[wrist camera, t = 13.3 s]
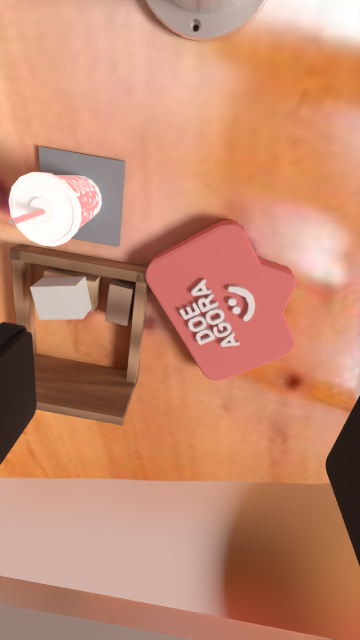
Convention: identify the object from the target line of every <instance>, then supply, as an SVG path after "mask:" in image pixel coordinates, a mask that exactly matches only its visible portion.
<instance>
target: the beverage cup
mask: <svg viewBox="0 0 360 640" xmlns="http://www.w3.org/2000/svg"><path fill="white" fill-rule="evenodd" d="M101 204H102V202H101V194H100V191H99V189H98V187H97V185H96V184H95V183H94V182H93V181H92V180H91V179H89V178H87V177H85V176H79V175H53V174H52V173H44V172H31V173H29V174H26V175H24V176H21V177H19V179H18V180H17V181H16V182H15V184H14V185H13V186H12V188H11V192H10V196H9V207H10V213H11V216H12V218H11V219H9V221H8V222H9V224H10V225H16V226H17V228H18V229H19V230H20V231H21V232H22V233H23V234H24V235H25V236H26V237H27V238H28V239H30V240H32V241H34V242H36V243H38V244H40V245H45V246H57V245H60V244H63V243H66V242H67V241H68V240H70V239H71V238H72V237H73V236H74V235H75V234H76V233H77V231H78V229H79V228H80V227H82V226H83V225H84V224H85V223H87V222H88V221H89V220H90V219H92V218H93V217H94V216H95V215H96V214H97V213H98V212H99V210H100V207H101Z"/></svg>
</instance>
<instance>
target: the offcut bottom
mask: <svg viewBox="0 0 360 640" xmlns="http://www.w3.org/2000/svg"><path fill="white" fill-rule="evenodd" d="M81 276H85V277H86V282H87V287H88V292H89V297H90V301H91V306H92V308H91V310H90V311H89V312H93V311H94V310H95V308H96V307H97V306H98V304H99V300H100V287H101V276H100V275H95V274H89V273H84V272H78V271H73V270H67V269H61V268H56V267H49V268H48V269H47V270H45V271H44V278H52V277H81Z"/></svg>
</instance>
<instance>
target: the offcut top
mask: <svg viewBox="0 0 360 640" xmlns="http://www.w3.org/2000/svg"><path fill="white" fill-rule="evenodd" d="M30 289H31V293H32V296H33V299H34V303H35V306H36V310H37V313H38V317H39V320H58V319H83V318H84V317H85V316H86V315H87V313H88V312H89V311H90V310H91V308H92V306H91V301H90V297H89V292H88V287H87V282H86V277H85V276H81V277H52V278H42V279H40V280H39V281H38V282H36V283H35V284H34V285H32V286H31V287H30Z"/></svg>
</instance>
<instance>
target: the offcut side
mask: <svg viewBox="0 0 360 640" xmlns="http://www.w3.org/2000/svg"><path fill="white" fill-rule="evenodd" d="M135 288H136V283H133V282H129V281H125V280H121V279H117V278H114V279H113V281H112V282H111V283H110V285H109V293H108V301H107V309H106V317H105V321H108V322H112V323H116V324H120V325H125V326H127V325H128V323H129V321H130V319H131V315H132V309H133V303H134V297H135Z"/></svg>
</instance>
